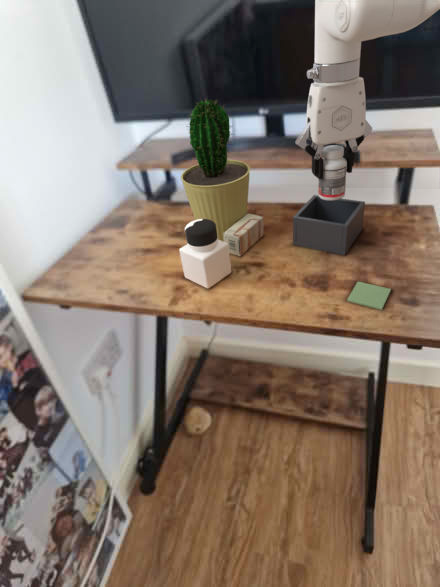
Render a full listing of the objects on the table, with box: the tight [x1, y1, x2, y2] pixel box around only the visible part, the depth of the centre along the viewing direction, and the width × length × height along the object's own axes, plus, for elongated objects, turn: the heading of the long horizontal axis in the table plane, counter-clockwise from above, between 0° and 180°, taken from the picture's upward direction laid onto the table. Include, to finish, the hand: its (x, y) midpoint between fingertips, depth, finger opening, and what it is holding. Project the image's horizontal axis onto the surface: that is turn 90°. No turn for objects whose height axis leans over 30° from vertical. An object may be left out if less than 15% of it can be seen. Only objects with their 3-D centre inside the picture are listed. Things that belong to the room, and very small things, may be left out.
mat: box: [346, 281, 392, 311], centre depth 72 cm, size 6×6×1 cm
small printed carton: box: [223, 212, 265, 257], centre depth 90 cm, size 5×4×10 cm
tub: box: [292, 194, 366, 256], centre depth 88 cm, size 12×12×7 cm
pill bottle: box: [317, 144, 347, 201], centre depth 81 cm, size 5×5×10 cm
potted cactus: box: [180, 98, 251, 242], centre depth 89 cm, size 15×15×30 cm
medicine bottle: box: [178, 219, 232, 289], centre depth 80 cm, size 7×7×12 cm
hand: (332, 172), depth 81 cm, fingers closed on pill bottle, 5 cm apart
